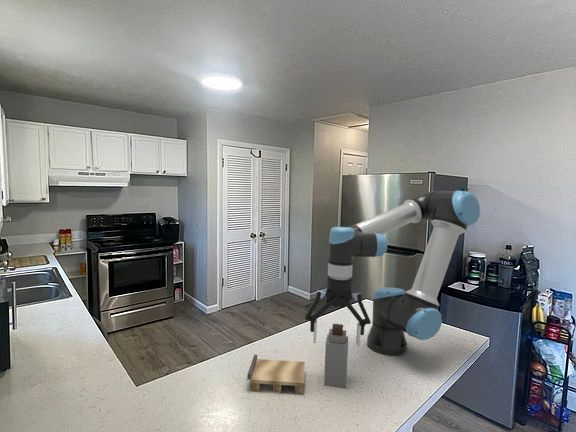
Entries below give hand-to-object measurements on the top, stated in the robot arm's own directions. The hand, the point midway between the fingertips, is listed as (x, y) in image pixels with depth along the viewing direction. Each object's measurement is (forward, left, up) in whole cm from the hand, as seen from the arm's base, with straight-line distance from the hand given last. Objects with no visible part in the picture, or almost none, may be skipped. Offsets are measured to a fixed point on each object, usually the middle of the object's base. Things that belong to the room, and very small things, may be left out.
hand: (336, 343), depth 102 cm
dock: (+18, +2, -13) cm, 22 cm away
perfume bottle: (0, 0, -13) cm, 13 cm away
